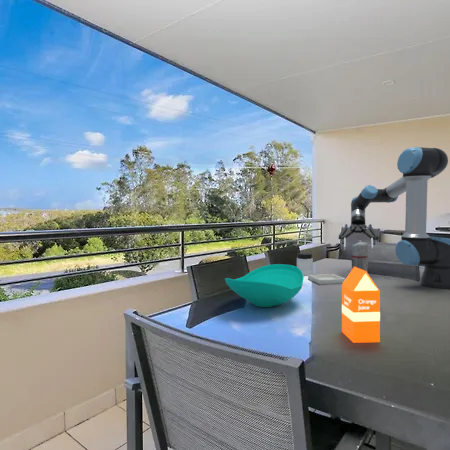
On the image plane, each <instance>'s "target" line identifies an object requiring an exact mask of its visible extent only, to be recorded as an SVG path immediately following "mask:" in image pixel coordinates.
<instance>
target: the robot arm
mask: <svg viewBox="0 0 450 450" xmlns="http://www.w3.org/2000/svg"><path fill="white" fill-rule="evenodd" d="M448 157H449V156H448V155H447V152H445V151H444V150H443V149H440V148H436V147H419V146H415V147H408V148H406V149H404V150H402V152H401V153H400V155H399V156H398V159H397V164H396V166H397V167H396V168H397V169H398V171H399V172H400V173H402V177H400V178H398V179H397V180H395V181H394V182H392V183H390V185H388V186H386V187H384V188H383V189H382V188H381V189H380V188H377V187H376V186H374V185H371V184H368V185H366V186H364V188H362V189H361V191H360V193H359V194H358V195H357V196H355V197H353V198H352V199H351V203H350V210H351V211H350V222H351V223H350V225H348V224H345V225H344V228H343V229H342V230H341V232H340V233H339V234H338V240H341V245H343V250H344V251H346V247H347V241H346V240H347V238H349V236H352V235H353V234H354V233H356V234H361V233H362V234H364V235H366V236H367V237H368V238H369V239H370V248H371V252H373V251H374V246H375V245H376V241H379V240H380V235H378V233H377V232H376V231H375V229H374V227H372V226H373V225H372V223H371V224H369V225H366V208H367V207H368V206H369V205H370V204H371V203H387V204H388V203H394V202H396V201H397V200H398V197H399V196H400V195H403V194H404V193H405V224H404V233H403V234H401V235H400V236H401V240H400V241H399V240H398V242H397V243H396V245H395V249H394V250H395V255H396V258H397V259H398V260H399V261H400V262H401V264H403V265H406V266H412V267H413V266H415V267H416V266H420V265H421V266H422V265H423V266H424V270H423V272H422V275H421V277H420V281H419V282H420V285H421V286H425V287H429V288H435V289H450V237H449V238H447V237H440V236H439V237H438V236H430V235H429V234H428V233H427V217H428V215H427V212H428V211H427V209H428V182H429V180H430V179H432V178H435V177H436V176H439V175H440V174H441V173H442V172H444V171H445V169H446V168H447V167H448V164H449V158H448ZM349 229H350V230H349Z"/></svg>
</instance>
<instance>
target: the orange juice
mask: <svg viewBox="0 0 450 450" xmlns="http://www.w3.org/2000/svg"><path fill="white" fill-rule="evenodd" d="M380 298H381V291H380V289H379V288H378V287H377V284H375V282H374V281H373V279H372V278H371V277H370V275H369V273H368V274H367V271H364V270H362V269H359V268H357V267H354V268H353V269H352V268H351V270H350V272H349V273H348V275H347V277H346V278H345V281H344V282H343V284H341V332H342V334H343V335H345V336H346V338H348V339H349V340H350V341H351V342H352V343H354V344H356V343H360V344H361V343H380V342H381V337H380V336H381V331H380V330H381V299H380Z"/></svg>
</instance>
